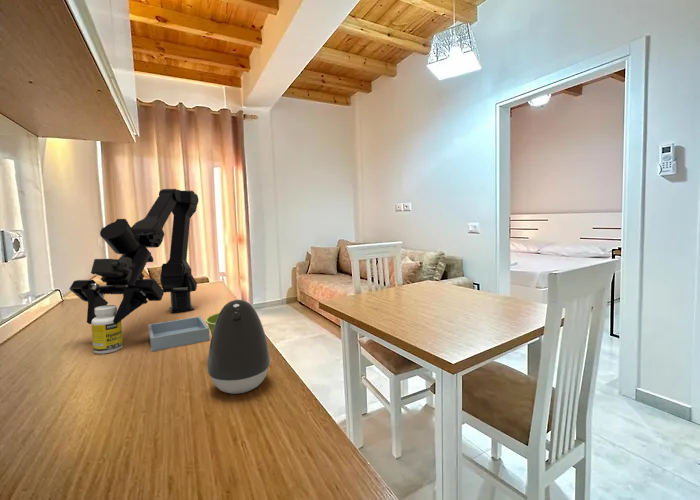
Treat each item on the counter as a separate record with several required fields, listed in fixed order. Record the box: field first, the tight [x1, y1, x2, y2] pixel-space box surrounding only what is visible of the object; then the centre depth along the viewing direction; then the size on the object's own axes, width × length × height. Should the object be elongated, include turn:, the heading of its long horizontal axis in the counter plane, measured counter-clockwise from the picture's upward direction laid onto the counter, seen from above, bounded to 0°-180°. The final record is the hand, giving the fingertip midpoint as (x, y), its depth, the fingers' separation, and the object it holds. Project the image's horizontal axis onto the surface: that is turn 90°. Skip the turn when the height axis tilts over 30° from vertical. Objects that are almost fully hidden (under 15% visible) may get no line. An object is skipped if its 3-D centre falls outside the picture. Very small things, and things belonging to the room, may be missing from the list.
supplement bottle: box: [90, 304, 124, 355], centre depth 75 cm, size 5×5×10 cm
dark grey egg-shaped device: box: [207, 299, 271, 395], centre depth 57 cm, size 10×10×15 cm
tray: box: [147, 316, 211, 352], centre depth 82 cm, size 12×12×3 cm
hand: (101, 323), depth 73 cm, fingers closed on supplement bottle, 5 cm apart
